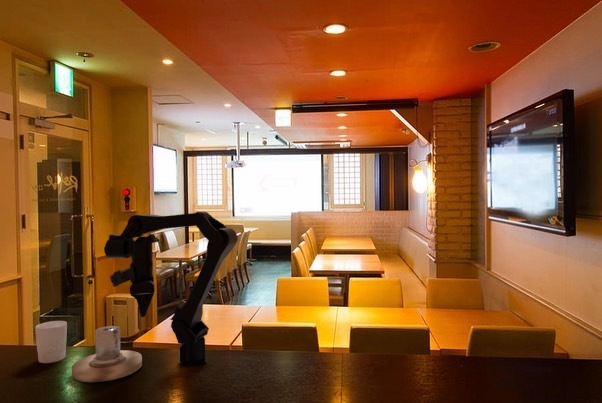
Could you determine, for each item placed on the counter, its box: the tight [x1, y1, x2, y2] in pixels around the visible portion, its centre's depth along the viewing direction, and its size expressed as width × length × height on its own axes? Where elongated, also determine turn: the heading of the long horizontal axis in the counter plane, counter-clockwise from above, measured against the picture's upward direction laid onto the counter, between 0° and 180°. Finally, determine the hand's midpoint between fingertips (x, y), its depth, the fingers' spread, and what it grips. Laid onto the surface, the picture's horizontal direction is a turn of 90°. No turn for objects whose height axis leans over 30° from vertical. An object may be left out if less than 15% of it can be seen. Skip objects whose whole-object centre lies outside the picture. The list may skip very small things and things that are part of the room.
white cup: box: [34, 320, 68, 364], centre depth 125 cm, size 8×8×10 cm
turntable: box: [71, 349, 143, 383], centre depth 116 cm, size 17×17×2 cm
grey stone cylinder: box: [93, 325, 123, 366], centre depth 116 cm, size 7×7×9 cm
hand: (143, 312), depth 124 cm, fingers open, 9 cm apart
